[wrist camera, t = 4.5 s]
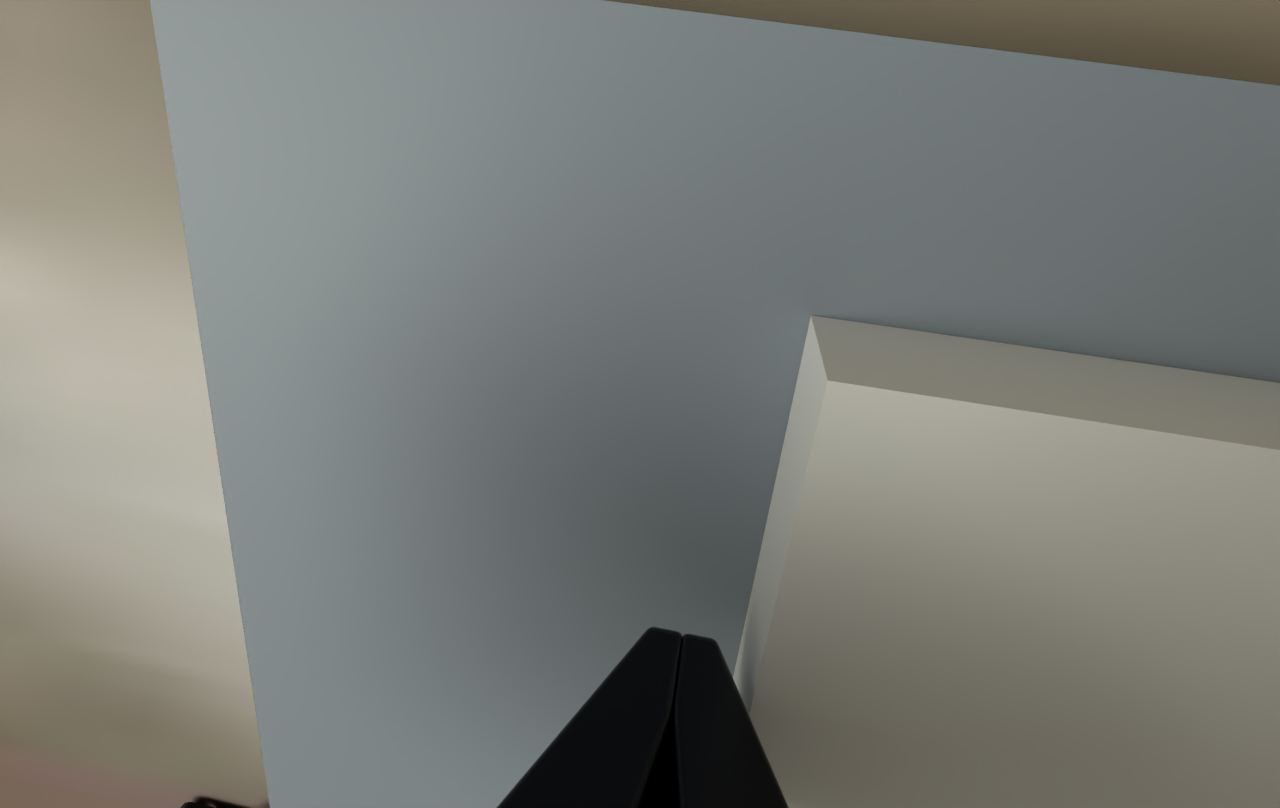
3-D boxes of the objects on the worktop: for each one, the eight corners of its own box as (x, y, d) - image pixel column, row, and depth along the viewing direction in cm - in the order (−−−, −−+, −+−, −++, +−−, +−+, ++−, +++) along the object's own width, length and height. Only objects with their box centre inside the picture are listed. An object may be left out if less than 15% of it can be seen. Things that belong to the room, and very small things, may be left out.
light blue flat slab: (973, 799, 15) (1041, 1017, 11) (379, 665, 16) (272, 822, 13) (1305, 125, 9) (1654, 132, 6) (351, 0, 11) (141, -58, 7)
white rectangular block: (1082, 932, 10) (1150, 1104, 9) (696, 844, 11) (685, 987, 9) (1414, 403, 7) (1654, 507, 5) (810, 315, 7) (827, 379, 6)
